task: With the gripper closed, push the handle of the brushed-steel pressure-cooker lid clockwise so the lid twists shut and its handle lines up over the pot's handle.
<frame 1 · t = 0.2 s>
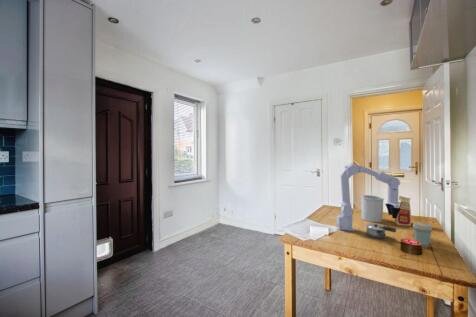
hand: (392, 216, 149), 10 cm above the table, fingers open, 7 cm apart
coffee cup: (421, 245, 128), on the table
pot: (375, 235, 143), on the table
lid: (380, 227, 141), point 6 cm above the table, hinge at 50.0°
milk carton: (403, 223, 166), on the table
utensil holder: (372, 219, 176), on the table
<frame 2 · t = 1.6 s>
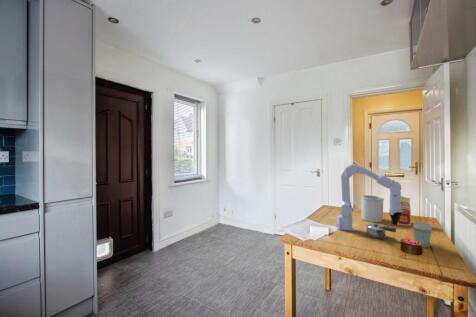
hand: (395, 224, 140), 8 cm above the table, fingers closed
nothing on the table moved.
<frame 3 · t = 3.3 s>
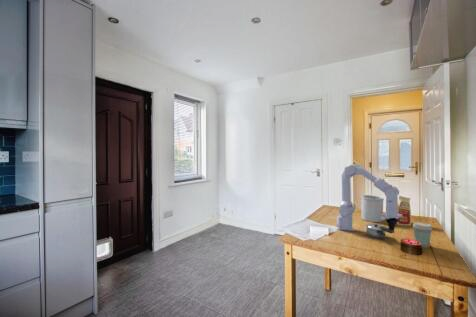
hand: (391, 230, 136), 6 cm above the table, fingers closed, pressing on lid
lid: (379, 227, 141), point 6 cm above the table, hinge at 31.6°, touching gripper
everything else where it was.
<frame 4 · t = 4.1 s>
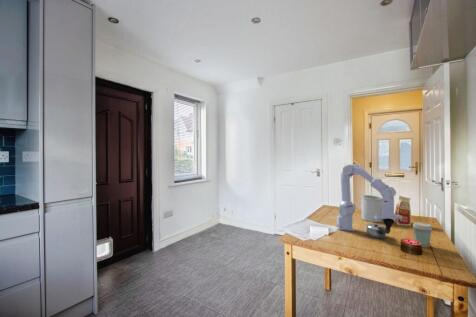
hand: (388, 231, 134), 6 cm above the table, fingers closed, pressing on lid
lid: (378, 227, 140), point 6 cm above the table, hinge at 12.0°, touching gripper
everything else where it was.
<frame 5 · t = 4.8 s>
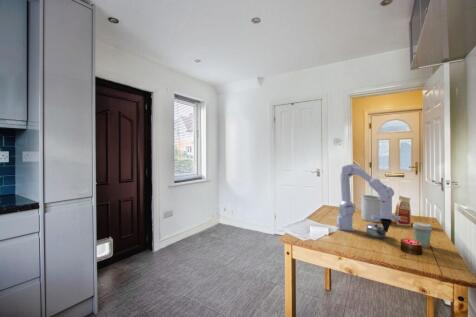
hand: (385, 231, 134), 6 cm above the table, fingers closed
lid: (377, 227, 140), point 6 cm above the table, hinge at 0.0°, touching gripper
everything else where it was.
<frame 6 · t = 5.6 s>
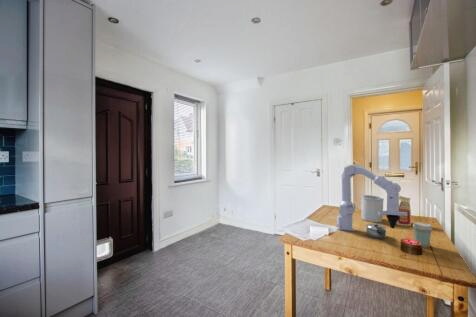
hand: (392, 227, 134), 8 cm above the table, fingers closed
lid: (377, 227, 140), point 6 cm above the table, hinge at -0.1°
everything else where it was.
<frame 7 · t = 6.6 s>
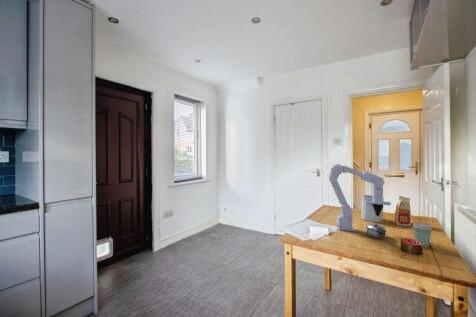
hand: (377, 215, 150), 10 cm above the table, fingers closed
nothing on the table moved.
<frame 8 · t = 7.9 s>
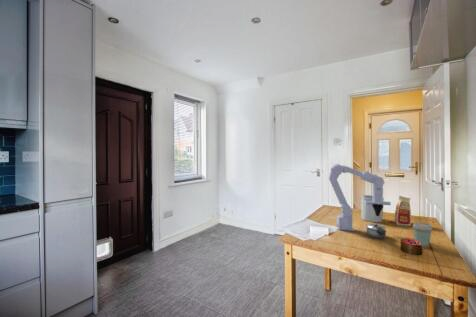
hand: (377, 215, 150), 10 cm above the table, fingers closed
nothing on the table moved.
at the end: lid at +0° (first picture: +50°) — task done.
